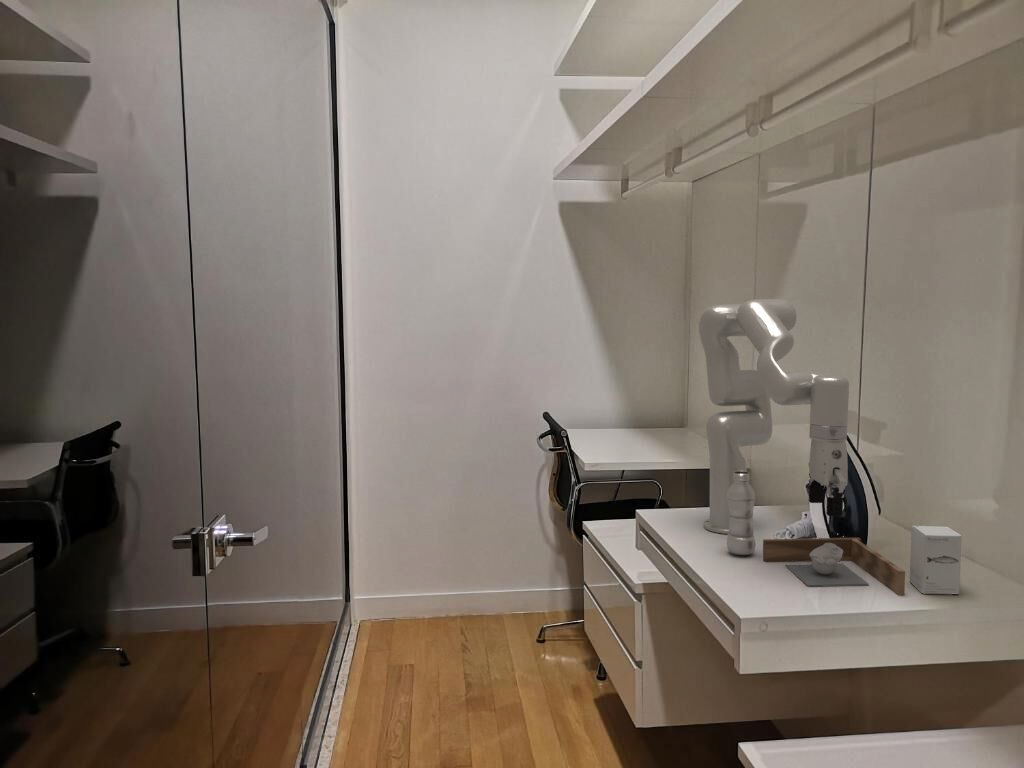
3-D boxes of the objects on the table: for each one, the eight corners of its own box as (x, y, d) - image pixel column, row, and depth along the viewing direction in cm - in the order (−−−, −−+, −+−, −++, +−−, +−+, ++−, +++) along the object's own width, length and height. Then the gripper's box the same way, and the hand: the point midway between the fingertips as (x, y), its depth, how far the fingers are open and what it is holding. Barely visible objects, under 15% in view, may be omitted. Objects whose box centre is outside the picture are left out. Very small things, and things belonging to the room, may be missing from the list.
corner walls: (763, 560, 182) (763, 539, 181) (858, 558, 182) (858, 537, 181) (800, 597, 158) (800, 573, 158) (909, 594, 158) (910, 571, 158)
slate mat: (785, 566, 177) (785, 564, 177) (842, 565, 177) (842, 563, 177) (807, 586, 164) (807, 585, 164) (868, 585, 164) (868, 583, 164)
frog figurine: (846, 579, 167) (847, 547, 166) (813, 578, 168) (813, 547, 167) (837, 569, 173) (838, 539, 172) (805, 569, 174) (806, 539, 173)
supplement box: (921, 594, 158) (923, 534, 157) (908, 582, 166) (910, 524, 164) (960, 596, 157) (962, 535, 156) (945, 583, 165) (947, 525, 163)
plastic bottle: (756, 559, 183) (757, 475, 181) (727, 557, 184) (727, 475, 182) (754, 550, 189) (754, 470, 187) (725, 549, 190) (725, 469, 188)
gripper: (863, 439, 159) (859, 520, 161) (829, 424, 176) (826, 497, 178) (827, 440, 159) (823, 521, 161) (796, 425, 176) (793, 498, 178)
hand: (825, 508), depth 170 cm, fingers open, 9 cm apart
